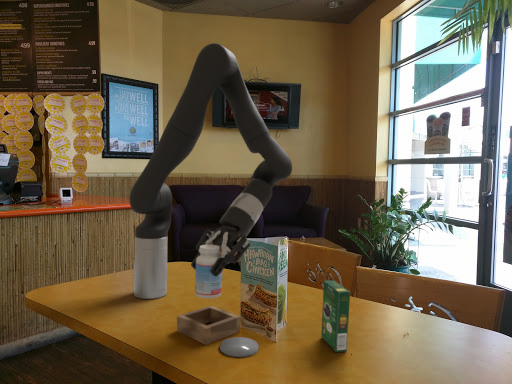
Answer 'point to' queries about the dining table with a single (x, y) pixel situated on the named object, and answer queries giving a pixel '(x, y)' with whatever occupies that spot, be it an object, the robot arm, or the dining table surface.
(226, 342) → the coaster
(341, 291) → the coffee box
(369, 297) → the dining table surface
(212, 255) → the pill bottle
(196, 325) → the square open box
